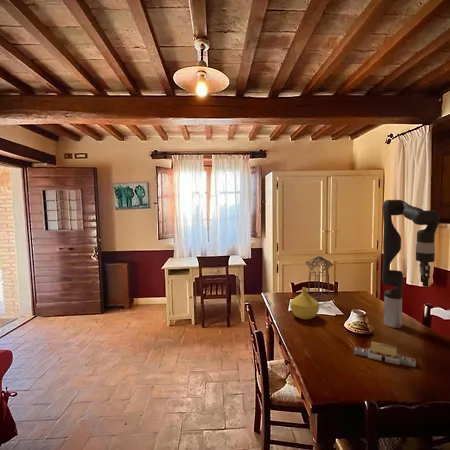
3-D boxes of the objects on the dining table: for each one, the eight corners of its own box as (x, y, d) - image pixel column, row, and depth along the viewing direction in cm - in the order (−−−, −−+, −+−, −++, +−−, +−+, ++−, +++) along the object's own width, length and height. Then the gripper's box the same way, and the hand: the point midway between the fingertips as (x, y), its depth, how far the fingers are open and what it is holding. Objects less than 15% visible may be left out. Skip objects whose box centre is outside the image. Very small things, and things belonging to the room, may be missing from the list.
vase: (315, 312, 194) (315, 284, 193) (322, 322, 175) (322, 292, 174) (288, 311, 195) (288, 284, 194) (292, 321, 177) (292, 291, 176)
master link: (371, 354, 137) (371, 341, 137) (396, 359, 132) (396, 346, 132) (370, 357, 134) (370, 343, 134) (396, 362, 129) (396, 348, 129)
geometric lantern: (303, 300, 218) (304, 255, 216) (321, 298, 223) (321, 254, 221) (316, 307, 203) (316, 258, 201) (334, 304, 208) (335, 257, 206)
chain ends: (354, 349, 142) (354, 344, 141) (414, 362, 129) (414, 356, 129) (353, 354, 137) (353, 349, 137) (415, 368, 125) (416, 362, 124)
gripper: (414, 249, 146) (413, 280, 147) (417, 253, 133) (416, 287, 134) (432, 250, 142) (431, 281, 143) (437, 254, 130) (436, 289, 131)
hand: (424, 284), depth 139 cm, fingers open, 8 cm apart
